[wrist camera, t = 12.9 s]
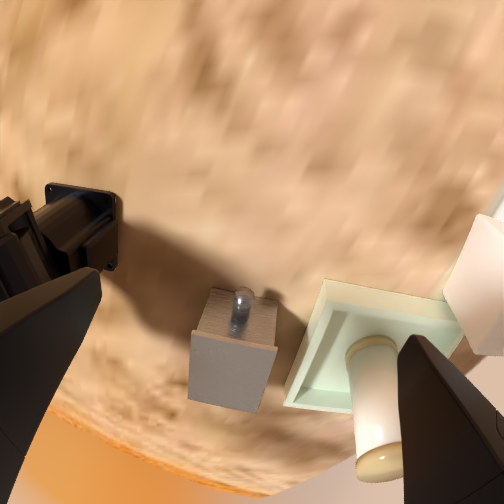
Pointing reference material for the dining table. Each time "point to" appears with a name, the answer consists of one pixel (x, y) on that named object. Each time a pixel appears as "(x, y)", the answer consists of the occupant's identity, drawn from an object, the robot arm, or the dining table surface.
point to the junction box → (233, 350)
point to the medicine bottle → (480, 287)
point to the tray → (354, 328)
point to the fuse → (375, 408)
